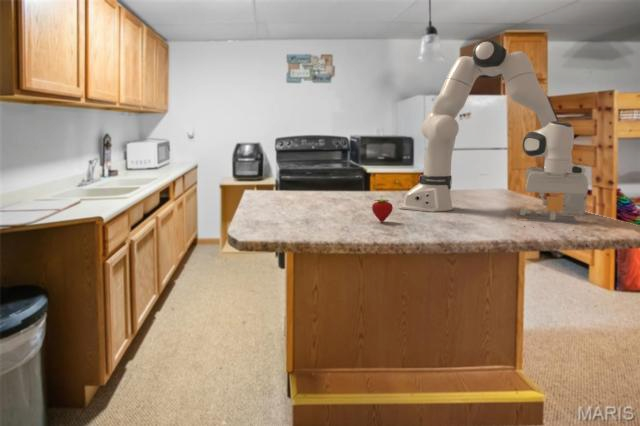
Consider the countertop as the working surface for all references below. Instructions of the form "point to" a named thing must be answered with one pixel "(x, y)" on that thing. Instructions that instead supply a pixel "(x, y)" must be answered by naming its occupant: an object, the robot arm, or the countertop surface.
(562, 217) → the breaker panel
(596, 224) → the countertop surface
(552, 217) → the tagged breaker
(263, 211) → the countertop surface
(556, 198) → the orange block
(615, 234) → the countertop surface
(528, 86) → the robot arm
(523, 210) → the untagged breaker
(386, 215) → the strawberry
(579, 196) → the supplement box
